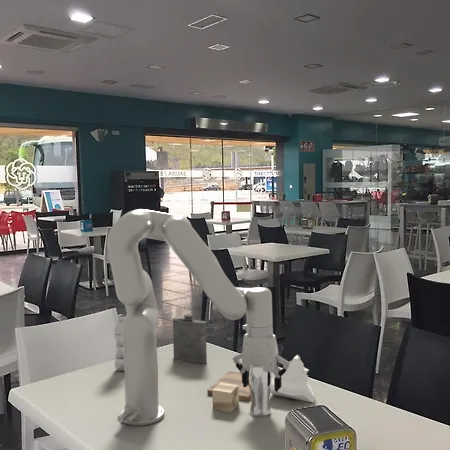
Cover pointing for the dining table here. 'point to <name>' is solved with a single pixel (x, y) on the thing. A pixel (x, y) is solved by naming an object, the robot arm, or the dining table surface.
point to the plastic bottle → (119, 344)
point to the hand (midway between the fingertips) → (261, 387)
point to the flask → (189, 340)
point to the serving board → (233, 379)
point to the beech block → (225, 397)
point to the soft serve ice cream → (294, 382)
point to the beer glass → (259, 390)
